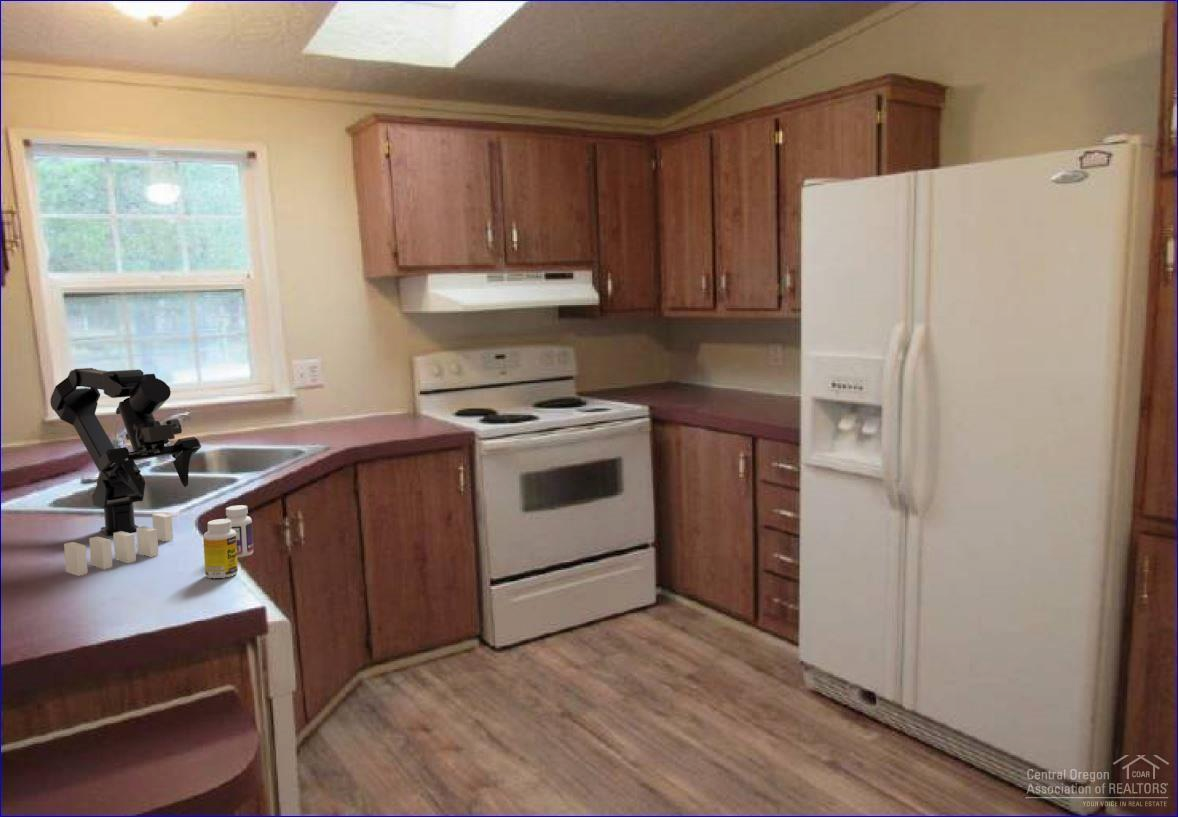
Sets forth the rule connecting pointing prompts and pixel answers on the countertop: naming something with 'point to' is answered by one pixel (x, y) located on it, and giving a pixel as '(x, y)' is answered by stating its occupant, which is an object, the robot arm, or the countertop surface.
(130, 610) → the countertop surface
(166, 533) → the domino
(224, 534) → the supplement bottle
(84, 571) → the domino
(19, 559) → the countertop surface
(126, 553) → the domino
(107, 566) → the domino
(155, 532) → the domino
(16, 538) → the countertop surface
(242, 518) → the pill bottle
